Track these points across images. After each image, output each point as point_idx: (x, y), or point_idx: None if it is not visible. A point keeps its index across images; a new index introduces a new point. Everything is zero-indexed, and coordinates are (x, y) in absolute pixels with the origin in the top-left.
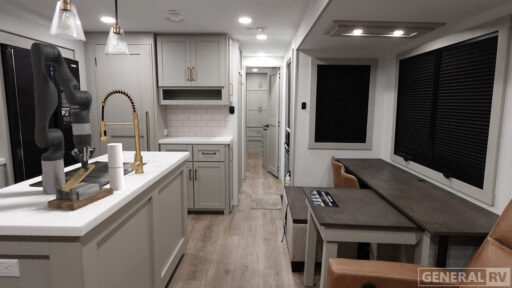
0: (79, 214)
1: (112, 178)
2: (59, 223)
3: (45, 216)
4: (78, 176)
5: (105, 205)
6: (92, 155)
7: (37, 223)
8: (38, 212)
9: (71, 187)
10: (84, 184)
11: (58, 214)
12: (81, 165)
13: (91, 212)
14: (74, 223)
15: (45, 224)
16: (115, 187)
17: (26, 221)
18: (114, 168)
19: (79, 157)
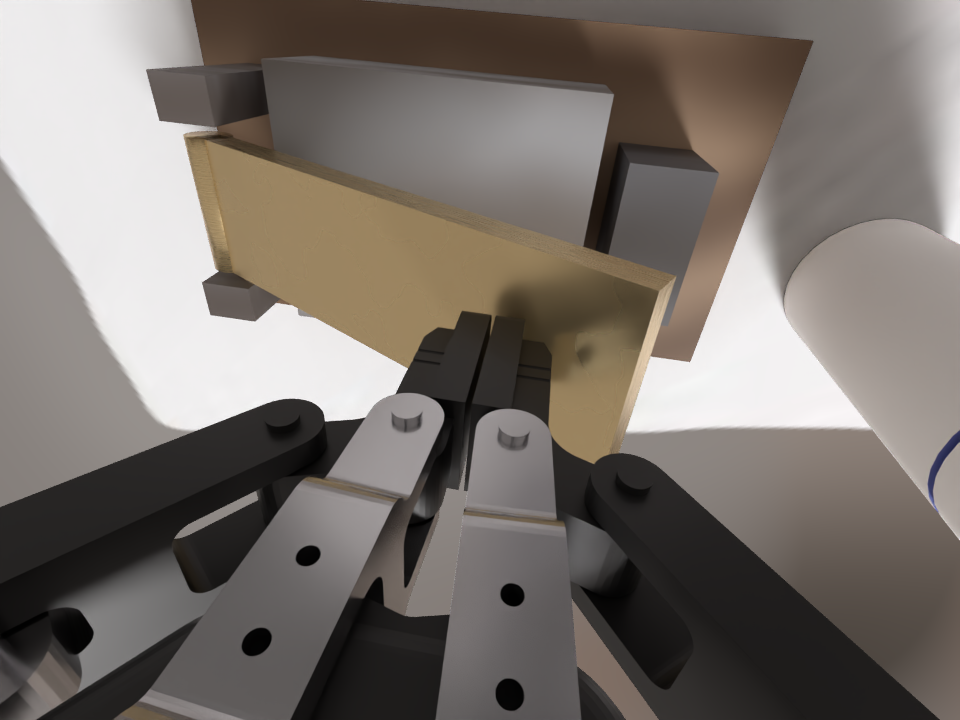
0: (249, 345)
1: (851, 355)
2: (120, 324)
3: (122, 153)
4: (358, 283)
5: None
6: (676, 635)
7: (44, 201)
8: (128, 4)
9: (240, 275)
10: (518, 210)
11: (188, 218)
12: (418, 353)
13: (298, 389)
14: (162, 391)
15: (68, 261)
16: (797, 324)
17: (5, 90)
18: (924, 480)
19: (192, 569)
